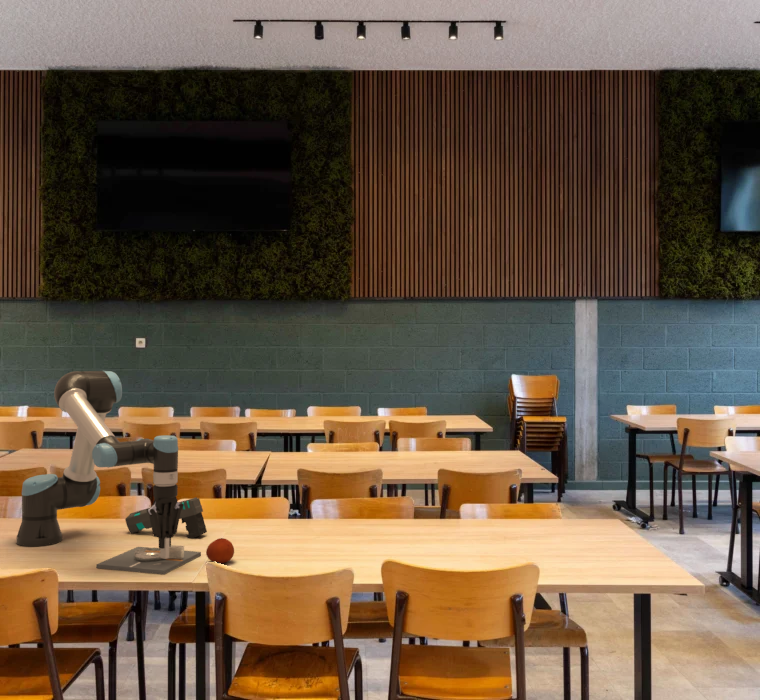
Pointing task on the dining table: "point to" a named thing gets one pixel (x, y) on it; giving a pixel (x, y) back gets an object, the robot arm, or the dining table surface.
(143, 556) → the dial
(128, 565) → the panel
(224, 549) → the fruit
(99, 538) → the dining table surface
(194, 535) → the gun
